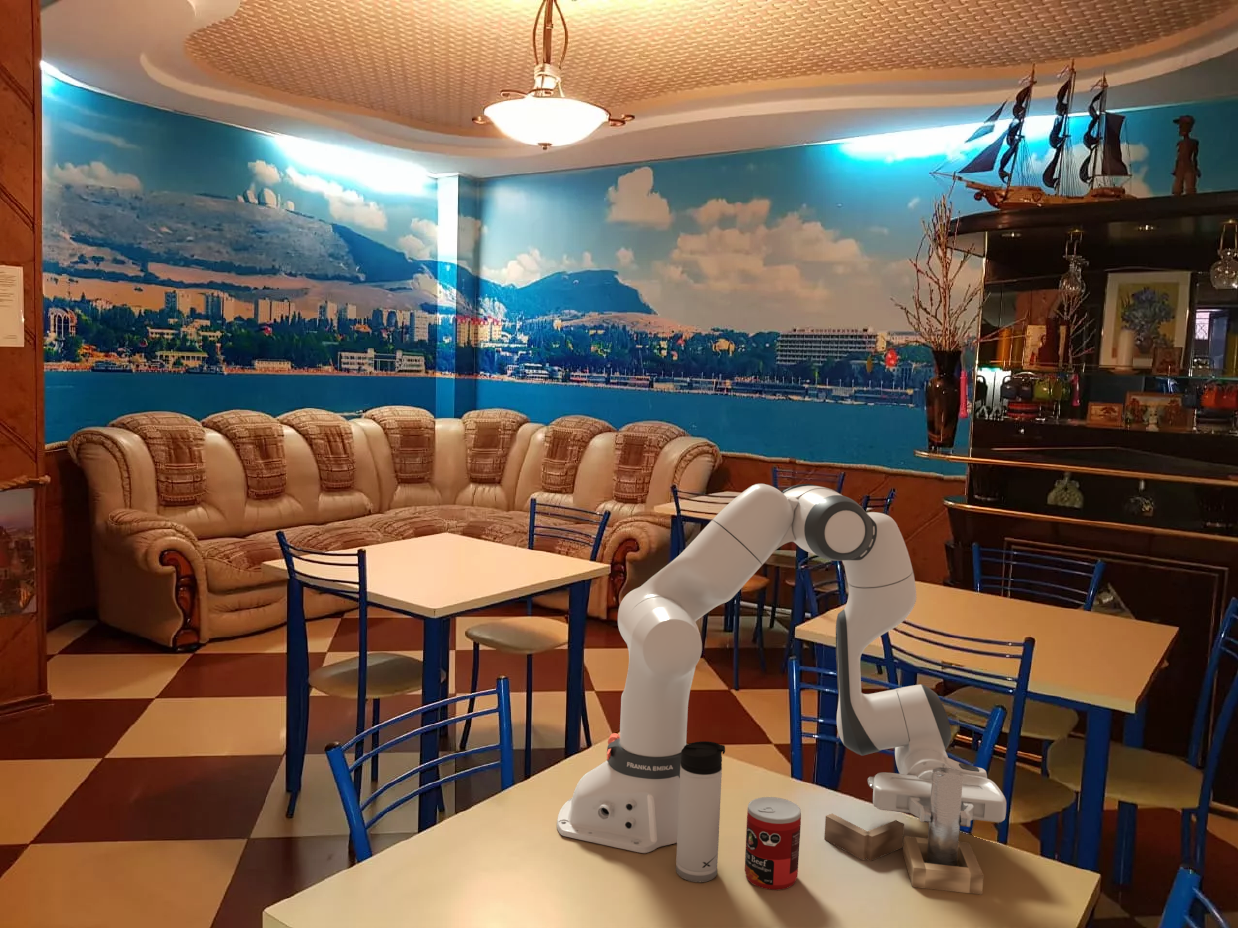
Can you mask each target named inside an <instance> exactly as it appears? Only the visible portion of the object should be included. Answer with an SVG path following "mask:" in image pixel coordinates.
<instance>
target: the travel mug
mask: <svg viewBox="0 0 1238 928" xmlns="http://www.w3.org/2000/svg"><path fill="white" fill-rule="evenodd" d="M725 753H726V746H725V745H724V744H720V743H718V742H714V741H708V740H707V741H706V740H705V741H704V740H703V741H701V740H700V741H693V742H690V743H687V745H686V746H684V748H683V749H682V750H681V764H680V785H679V809H678V832H677V843H676V859H675V863H676V864H675V871H676V874H677V875H678V876H679V877H680V878H682V879H683V880H685V881H688V882H693V883H706V882H710V881H711V880H713V879H715V878H716V877H717V874H718V860H719V857H718V856H719V840H720V839H719V838H720V821H721V820H720V819H721V800H722V799H721V798H722V797H721V796H722V795H721V794H722V774H723V773H722V772H723V755H724V754H725Z"/></svg>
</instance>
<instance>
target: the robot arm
mask: <svg viewBox="0 0 1238 928" xmlns="http://www.w3.org/2000/svg"><path fill="white" fill-rule="evenodd" d="M788 543H794V544H796V546H798V547H799V548H800V549H802V550H803V551H805V552H808V553H810V554H811V555H814V556H818V558H821V559H824V560H828V561H832V562H833V561H834V562H835V561H836V562H837V561H838V562H839V561H841V562H842V565H843V566H844V571H845V573H844V574H845V576H846V582H847V586H848V595H847V602H846V604H845V607H844V609H842V610H841V611H840V612H838V613H837V616H836V620H835V621H836V622H835V656H836V657H835V660H836V675H837V676H836V678H837V679H836V680H837V682H836V683H837V694H838V695H837V711H836V726H837V727H836V728H837V732H838V736H839V738H840V740H841V742H842V744H843V746H844V747H846V748H847V749H848V750H850V751H851V752H853V753H855V754H857V755H860V756H866V755H870V754H873V753H878V752H880V751H882V750H888V749H893V748H894V758H895V764H896V767H897V770H898V773H897V772H896V773H895V772H878V773H877V774H875V775H874V776H869V777H868V778H867V784H868V786H869V787H870V788H871V789H873V790H872V791H873V792H872V804H873V805H872V806H873V807H875V808H876V809H878V810H880V811H886V812H887V811H888V812H899V813H905V814H906V813H907V814H911V815H914V816H915V817H917V818H918V819H919V822H920V823H929V822H931V819H930V817H931V811H930V803H931V788H932V773H933V769H935V768H939V767H945V768H951V769H954V770H957V771H959V772H961V773H962V774H963V783H962V798H961V812H960V826H959V827H966V828H967V827H968V828H970V827H971V821H973V820H974V821H975V820H976V821H983V822H984V821H985V822H995V823H1002V822H1003V821H1005V819H1006V814H1007V799H1006V797H1005V795H1004V793H1003V792H1002V791H1001V789H1000V788H999V786H998V785H997V784H996V783H995V782H994V781H993V780H991V779H989V778H988V774H987V771H986V770H985V769H984V768H982V767H978V766H974V765H970V764H966V763H962V762H959V761H956V760H954V759H952V758H949V757H948V753H947V752H946V750H947V749H948V747H949V745H950V742H951V739H952V730H951V726H950V722H949V718H948V715H947V712H946V709H945V707H944V705H943V703H942V701H941V699H940V697H939V695H938V693H936V692H935V691H934V690H932V689H931V688H930V687H929V686H927V685H925V684H922V683H921V684H915V685H914V684H913V685H908V686H903V687H898V688H897V687H896V688H895V689H887V690H884V691H879V692H874V693H862V681H861V680H862V679H861V678H862V676H861V675H862V674H861V673H862V672H861V657H862V654H863V652H864V650H865V649H866V648H867V647H868V646H869V645H871V644H872V643H873V642H874V641H875V640H876V639H878V638H879V637H881V636H883V635H885V634H887V633H888V632H889V631H890V632H891V630H894V629H895V628H896V627H898V626H899V625H901V624H902V623H903V622H904V621H905V620H906V619H907V618H908V617H909V616H910V614H911V612H912V611H913V610H914V607H915V604H916V602H917V587H916V581H915V580H916V579H915V573H914V569H913V566H912V562H911V558H910V554H909V551H908V548H907V546H906V542H905V540H904V537H903V535H902V532H901V531H900V527H898V523H897V522H896V521H895V520H894V519H893V518H892V517H891V516H890V515H887V514H886V513H882V512H875V511H871V512H869V511H868V512H867V511H866V510H864V508H863V507H862V505H861V504H859V503H858V502H857V501H855V500H854V499H852V498H850V497H848V496H845V495H842V494H841V493H839V492H837V491H836V490H834V489H831V488H828V487H824V486H819V485H815V484H812V483H801V484H800V483H799V484H796V485H795V484H794V485H792V486H790V487H787V488H786V489H782V490H779V489H778V488H776V487H774V486H772V485H770V484H765V483H755V484H753V485H751V486H749V487H748V488H747V489H745V490H743V491H742V492H741V493H739V494H738V495H737V496H736V497H735V498H734V499H732V500H731V501H729V502H728V504H727V505H725V506H724V507H723V508H722V509H721V510H720V511H719V512H718V513H717V514H716V515H715V516H714V518H712V520H710V521H709V523H708V524H707V525H706V526H705V527H704V528H703V529H702V530H701V531H700V532H699V534H698V535H696V537H695V538H694V539H693V540H692V541H691V542H690V544H688V545H687V546H686V547H685V549H683V550H682V552H681V553H680V554H679V555H678V556H676V557H675V558H674V559H673V560H671V561H670V562H669V563H668V564H667V565H665V566H664V567H663V568H661V569H660V570H659V571H658V572H656V573H655V574H654V575H652V576H651V577H650V578H648V579H647V581H645V582H644V583H643V584H641V586H639V587H636V588H634V589H632V590H631V591H629V592H628V593H627V594H626V595H625V596H624V597H623V599H622V600H621V602H620V603H619V606H618V612H617V626H618V631H619V633H620V636H621V637H622V639H623V640H624V642H625V644H626V645H627V649H628V650H627V651H628V666H627V667H628V669H627V675H626V679H625V685H624V689H623V691H622V693H621V697H620V717H619V718H620V720H619V721H620V722H619V723H620V724H619V734H618V733H615V732H613V733H611V735H609V738H608V740H607V744H608V745H607V746H606V760H605V761H603V762H602V763H601V764H598V765H597V766H595V767H594V768H593V769H591V770H589V771H588V772H586V773H585V774H584V775H583V776H582V777H581V778H580V780H578V782H577V784H576V786H575V789H574V791H573V794H572V797H571V798H569V799H568V800H567V801H566V802H565V803H564V804H563V805H562V807H561V808H560V810H559V812H558V815H557V820H556V829H557V831H558V833H559V834H560V835H561V836H563V837H567V838H572V839H576V840H580V841H585V842H590V843H594V844H597V845H603V846H608V847H612V848H618V849H621V850H627V851H631V852H635V853H636V852H637V853H641V854H646V853H647V854H648V853H650V852H652V851H655V850H657V848H661V847H664V846H669V845H672V844H677V832H678V809H679V785H680V764H681V750H682V749H683V748H684V746H686V745H687V744H688V743H687V733H688V731H687V730H688V712H689V711H688V710H689V708H688V707H689V700H690V692H691V687H692V685H693V680H694V676H695V671H696V666H697V665H698V663H699V661H700V659H701V656H702V653H703V652H702V651H703V643H702V637H701V633H700V630H699V627H698V624H697V621H698V620H700V618H702V617H703V616H705V615H706V614H708V613H709V612H710V611H712V610H713V609H715V608H716V607H718V606H720V605H722V604H725V603H727V602H729V601H731V600H733V598H734V597H735V596H736V595H737V594H738V592H740V590H741V589H742V588H743V587H744V586H745V585H746V584H747V582H748V581H750V579H751V578H752V577H753V576H754V575H755V574H756V573H757V571H758V570H759V569H760V568H761V567H762V566H763V565H764V564H765V563H766V562H767V561H768V559H769V558H770V557H771V555H773V553H774V552H775V551H777V550H778V549H779V548H780V547H782V546H783V545H785V544H788Z"/></svg>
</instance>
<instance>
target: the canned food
mask: <svg viewBox="0 0 1238 928" xmlns="http://www.w3.org/2000/svg"><path fill="white" fill-rule="evenodd" d="M801 824H802V811H801V807H800V806H799V805H798V804H797V803H795V802H794V801H791V800H788V799H785V798H781V797H776V796H763V797H758V798H754V799H752V800H751V801H750V802H749V803H748V804H747V814H746V830H745V832H746V834H745V851H744V852H745V855H744V856H745V857H744V873H745V877H746V879H747V880H748V881H749V882H750V883H751V884H752V885H754V886H756V887H758V888H761V889H765V890H772V891H778V890H780V891H781V890H785V889H788V888H791V887H792V886H793V885H795V884H796V881H797V879H798V875H799V874H798V873H799V861H800V860H799V857H800V856H799V855H800V843H801V842H800V840H801V826H802V825H801Z"/></svg>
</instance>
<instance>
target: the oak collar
mask: <svg viewBox="0 0 1238 928" xmlns="http://www.w3.org/2000/svg"><path fill="white" fill-rule="evenodd" d="M927 847H928V837H927V838H926V837H920V836H919V837H918V836H909V835H903V848H902V856H903V858H904V863H905V865H906V869H907V873H908V877H909V880H910V883H911V887H912V888H921V889H927V890H928V889H931V890H938V891H947V892H948V891H949V892H957V893H964V894H965V893H966V894H972V895H980V896H981V895H983V887H984V873H983V871H982V868H981V866H980V864H979V862H978V859H977V857H976V855H975V853H974V851H973V848H972V846H971V844H970V842H966V841H958V855H957V866H948V865H939V864H930V863H926V862H927Z"/></svg>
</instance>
